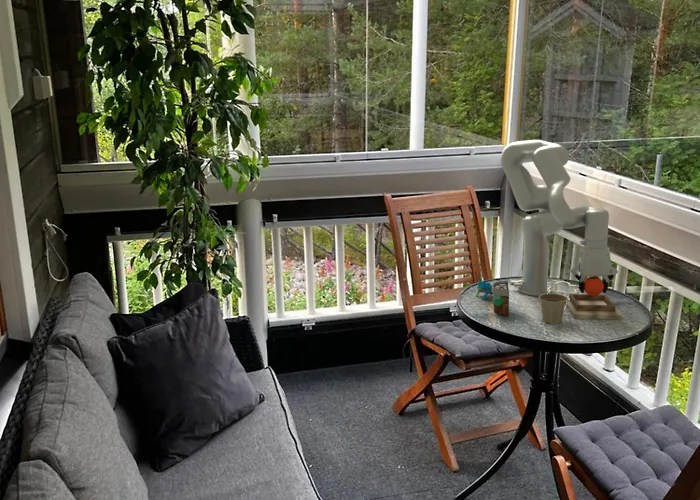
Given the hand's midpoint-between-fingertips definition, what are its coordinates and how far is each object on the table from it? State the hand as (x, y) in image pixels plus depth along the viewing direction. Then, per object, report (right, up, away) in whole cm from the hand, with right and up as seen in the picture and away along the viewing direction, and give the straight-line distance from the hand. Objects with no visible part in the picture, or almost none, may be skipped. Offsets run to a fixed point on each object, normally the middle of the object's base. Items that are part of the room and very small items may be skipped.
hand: (592, 291), depth 224 cm
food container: (-33, -8, +3) cm, 34 cm away
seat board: (0, -6, +2) cm, 7 cm away
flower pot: (-17, -10, -8) cm, 22 cm away
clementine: (0, -1, 0) cm, 1 cm away
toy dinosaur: (-34, -4, +18) cm, 38 cm away
